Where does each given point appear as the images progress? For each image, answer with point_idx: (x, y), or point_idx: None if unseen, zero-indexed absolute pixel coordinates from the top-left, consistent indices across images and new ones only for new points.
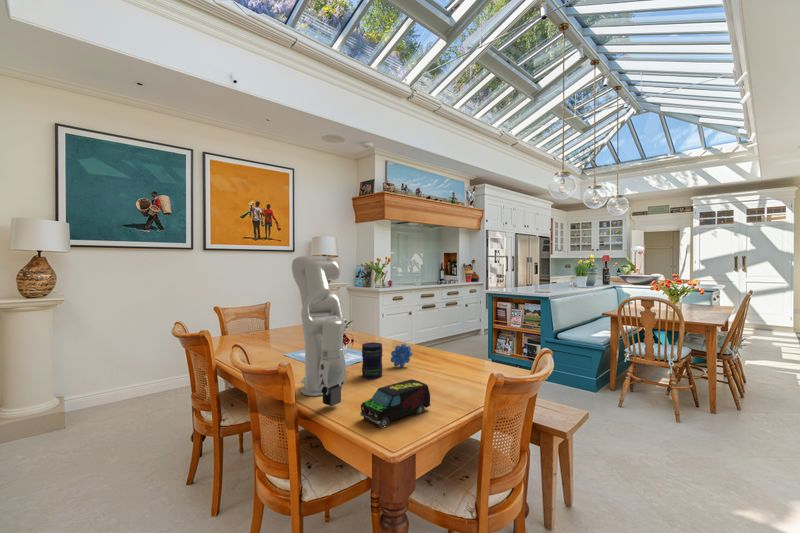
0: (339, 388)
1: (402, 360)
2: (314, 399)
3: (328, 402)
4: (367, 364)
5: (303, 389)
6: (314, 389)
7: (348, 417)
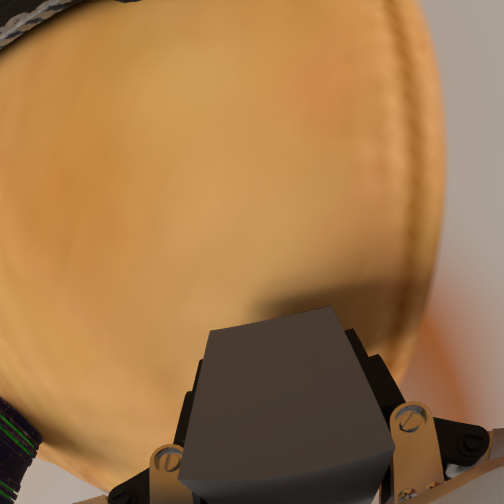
0: (215, 460)
1: None
2: None
3: (359, 347)
4: (7, 455)
5: None
6: None
7: (285, 66)
